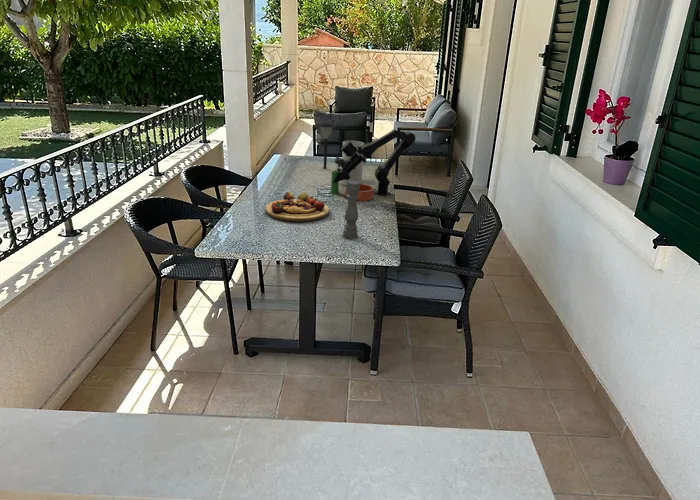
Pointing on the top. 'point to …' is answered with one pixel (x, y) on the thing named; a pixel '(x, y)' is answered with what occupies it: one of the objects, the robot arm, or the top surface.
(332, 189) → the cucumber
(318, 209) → the wooden plate
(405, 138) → the robot arm
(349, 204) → the candle holder
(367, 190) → the pot
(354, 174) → the cylinder vase
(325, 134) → the solar garden light
